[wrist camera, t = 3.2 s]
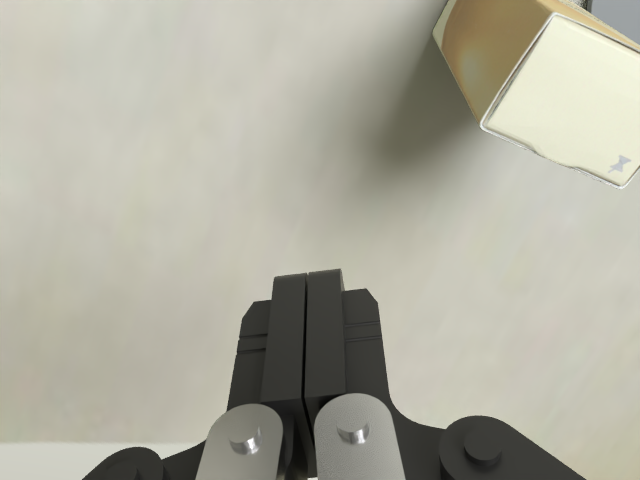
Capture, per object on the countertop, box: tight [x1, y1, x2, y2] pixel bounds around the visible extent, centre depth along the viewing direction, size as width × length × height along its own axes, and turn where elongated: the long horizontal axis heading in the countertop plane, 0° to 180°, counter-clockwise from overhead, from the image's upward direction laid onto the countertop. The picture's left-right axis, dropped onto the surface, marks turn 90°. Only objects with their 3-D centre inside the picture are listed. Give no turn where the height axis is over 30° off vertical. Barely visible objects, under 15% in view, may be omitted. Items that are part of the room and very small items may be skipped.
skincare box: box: [432, 0, 640, 189], centre depth 24 cm, size 6×4×12 cm
